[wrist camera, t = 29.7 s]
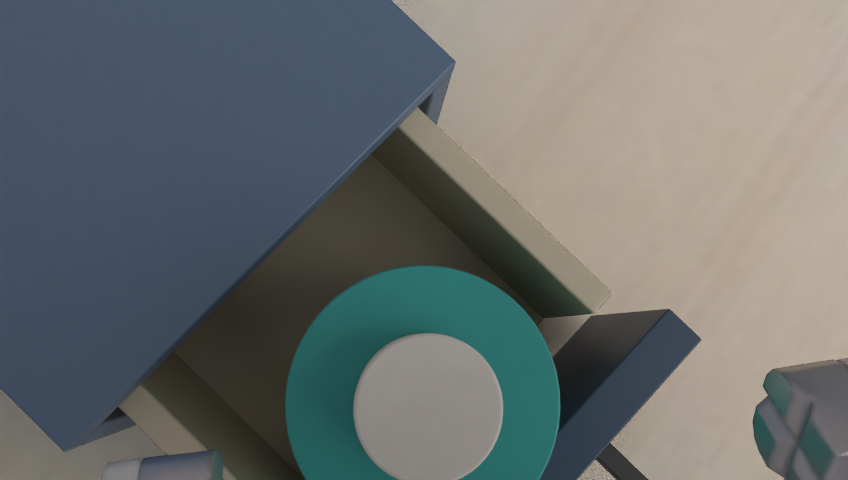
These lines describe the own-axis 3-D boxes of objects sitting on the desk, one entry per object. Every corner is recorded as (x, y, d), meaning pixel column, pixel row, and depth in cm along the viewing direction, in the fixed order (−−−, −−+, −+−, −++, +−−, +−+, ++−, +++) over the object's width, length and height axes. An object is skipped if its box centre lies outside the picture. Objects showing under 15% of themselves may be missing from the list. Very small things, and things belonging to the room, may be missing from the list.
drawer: (715, 434, 29) (839, 470, 21) (478, 706, 28) (519, 851, 20) (307, 43, 30) (283, -59, 22) (53, 286, 28) (-67, 268, 21)
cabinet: (430, 146, 31) (456, 61, 21) (166, 414, 29) (64, 453, 19) (118, -152, 31) (6, -366, 22) (-159, 93, 29) (-413, -23, 20)
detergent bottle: (502, 460, 27) (593, 550, 16) (323, 477, 27) (286, 581, 16) (485, 283, 28) (562, 247, 17) (311, 297, 28) (267, 270, 16)
